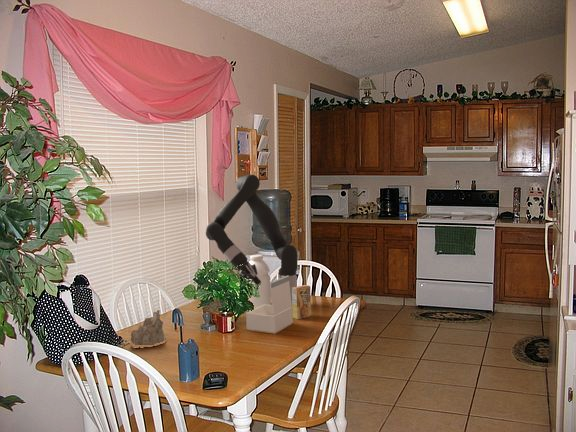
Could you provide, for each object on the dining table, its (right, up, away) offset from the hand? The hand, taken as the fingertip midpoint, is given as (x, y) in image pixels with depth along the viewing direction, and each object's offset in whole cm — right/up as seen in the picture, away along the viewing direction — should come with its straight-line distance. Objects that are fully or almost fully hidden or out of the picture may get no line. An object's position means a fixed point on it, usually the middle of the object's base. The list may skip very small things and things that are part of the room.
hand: (259, 283), depth 275 cm
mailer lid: (+12, -12, -7) cm, 18 cm away
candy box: (+20, -18, +12) cm, 30 cm away
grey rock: (-48, -24, -20) cm, 57 cm away
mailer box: (+5, -20, -3) cm, 21 cm away
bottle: (-2, -17, +33) cm, 37 cm away
